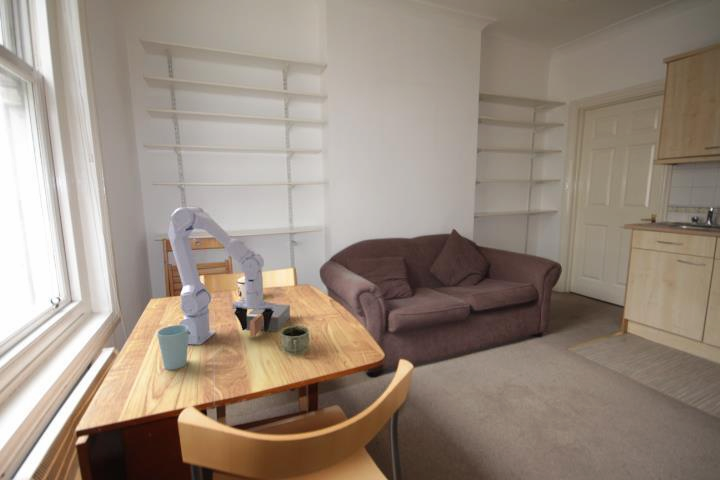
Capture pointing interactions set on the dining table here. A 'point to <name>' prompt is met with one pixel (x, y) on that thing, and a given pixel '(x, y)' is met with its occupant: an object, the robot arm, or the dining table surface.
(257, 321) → the cream pillar on pink
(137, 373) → the dining table surface
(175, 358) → the cup
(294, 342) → the vessel
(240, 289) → the teacup with lid
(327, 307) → the dining table surface
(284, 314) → the dispenser
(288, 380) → the dining table surface
